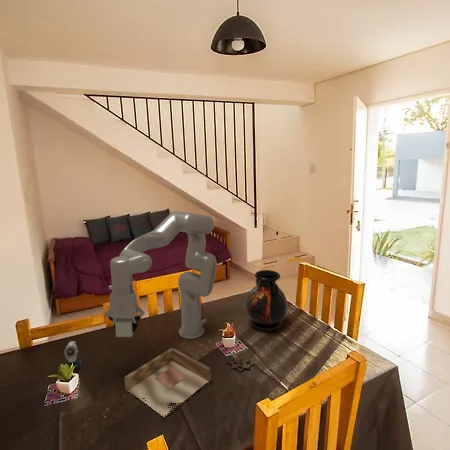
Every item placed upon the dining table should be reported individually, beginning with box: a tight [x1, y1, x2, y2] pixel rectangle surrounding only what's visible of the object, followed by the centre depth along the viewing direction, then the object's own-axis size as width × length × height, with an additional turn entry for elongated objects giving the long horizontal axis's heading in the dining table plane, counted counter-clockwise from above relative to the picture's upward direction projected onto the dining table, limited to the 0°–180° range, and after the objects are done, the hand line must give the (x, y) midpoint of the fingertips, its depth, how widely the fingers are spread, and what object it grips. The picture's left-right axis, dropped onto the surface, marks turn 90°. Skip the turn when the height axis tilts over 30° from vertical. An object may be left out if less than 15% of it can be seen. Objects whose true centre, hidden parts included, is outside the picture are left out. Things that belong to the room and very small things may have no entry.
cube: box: [115, 318, 134, 338], centre depth 129 cm, size 6×6×6 cm
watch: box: [63, 340, 83, 370], centre depth 137 cm, size 6×8×11 cm
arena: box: [124, 347, 212, 417], centre depth 126 cm, size 24×22×6 cm
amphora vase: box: [245, 269, 289, 332], centre depth 169 cm, size 22×22×28 cm
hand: (126, 330), depth 130 cm, fingers closed on cube, 6 cm apart
